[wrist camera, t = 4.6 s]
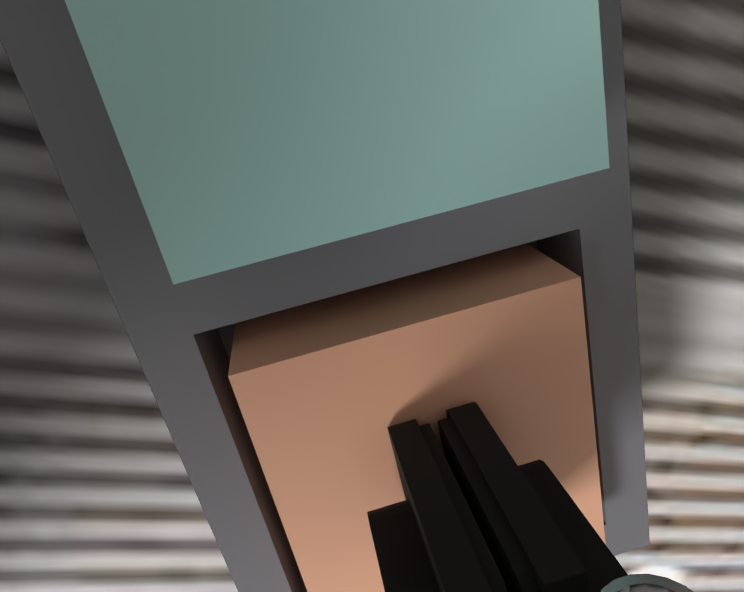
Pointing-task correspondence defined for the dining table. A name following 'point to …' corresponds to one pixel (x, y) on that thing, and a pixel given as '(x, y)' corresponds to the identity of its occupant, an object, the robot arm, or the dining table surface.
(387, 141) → the teal key
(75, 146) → the keypad
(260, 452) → the terracotta key
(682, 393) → the dining table surface
